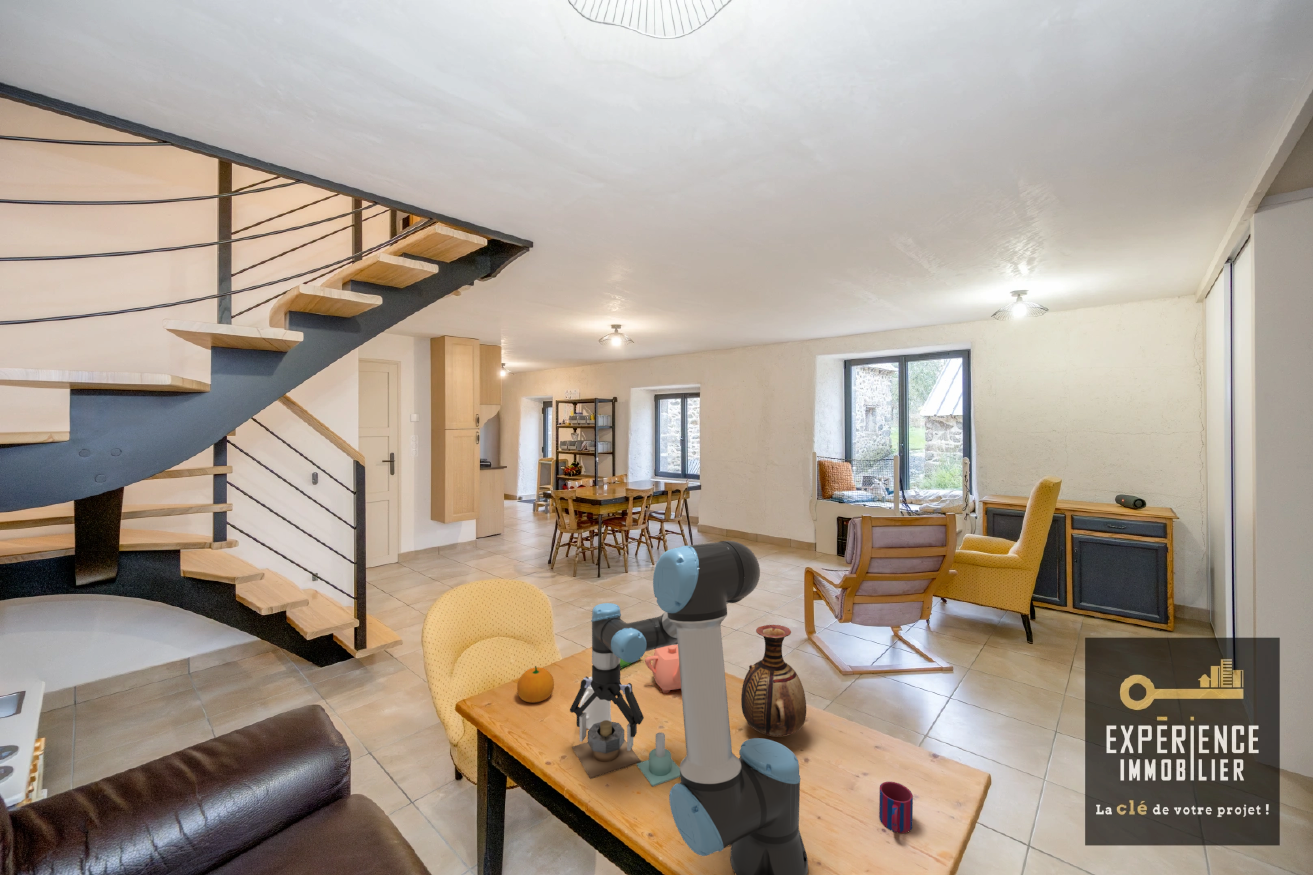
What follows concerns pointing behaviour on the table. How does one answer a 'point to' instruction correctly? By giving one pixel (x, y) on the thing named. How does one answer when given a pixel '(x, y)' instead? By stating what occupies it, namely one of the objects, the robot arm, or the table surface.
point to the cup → (896, 807)
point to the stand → (659, 764)
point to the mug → (595, 708)
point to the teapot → (665, 667)
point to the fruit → (535, 685)
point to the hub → (604, 756)
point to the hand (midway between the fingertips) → (606, 743)
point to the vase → (773, 689)
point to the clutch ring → (605, 738)
